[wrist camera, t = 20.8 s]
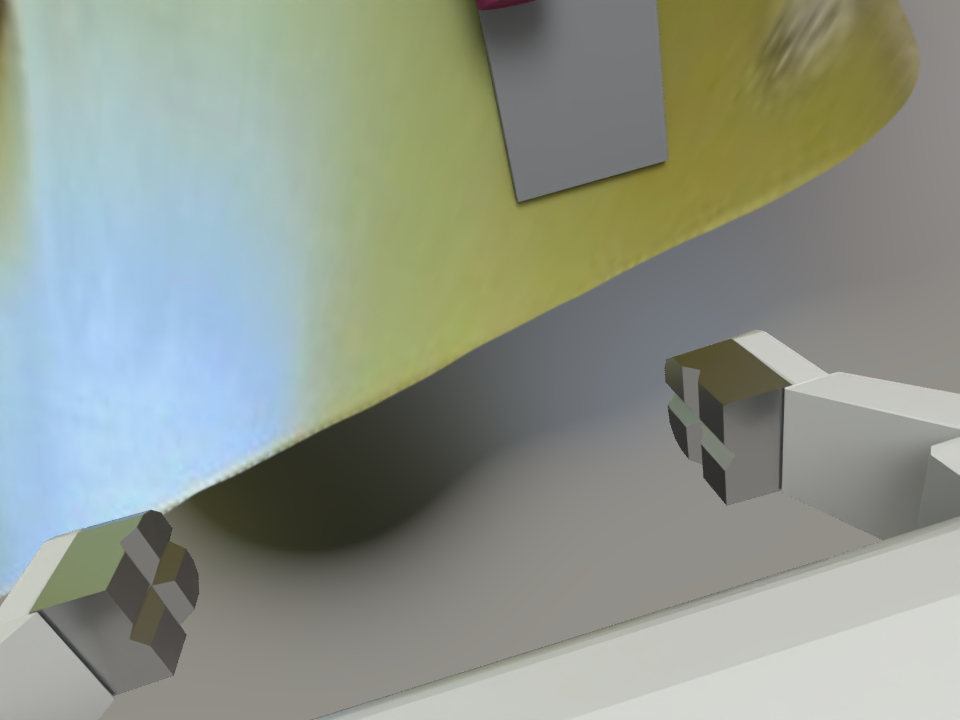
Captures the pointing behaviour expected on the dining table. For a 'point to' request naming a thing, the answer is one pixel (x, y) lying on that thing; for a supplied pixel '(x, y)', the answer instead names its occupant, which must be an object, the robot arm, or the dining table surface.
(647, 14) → the mat
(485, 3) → the cup
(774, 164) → the dining table surface
